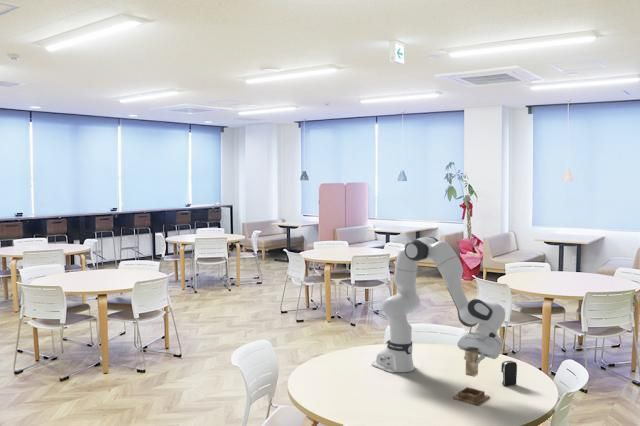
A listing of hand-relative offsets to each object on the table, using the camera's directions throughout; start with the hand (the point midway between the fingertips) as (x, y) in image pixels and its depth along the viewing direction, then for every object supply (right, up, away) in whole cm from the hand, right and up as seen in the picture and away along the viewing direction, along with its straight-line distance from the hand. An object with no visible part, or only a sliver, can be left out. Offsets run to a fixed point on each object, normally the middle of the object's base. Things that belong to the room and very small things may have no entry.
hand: (471, 361), depth 258 cm
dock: (0, -17, +2) cm, 17 cm away
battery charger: (+23, -16, +18) cm, 33 cm away
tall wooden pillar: (0, -6, +1) cm, 6 cm away
